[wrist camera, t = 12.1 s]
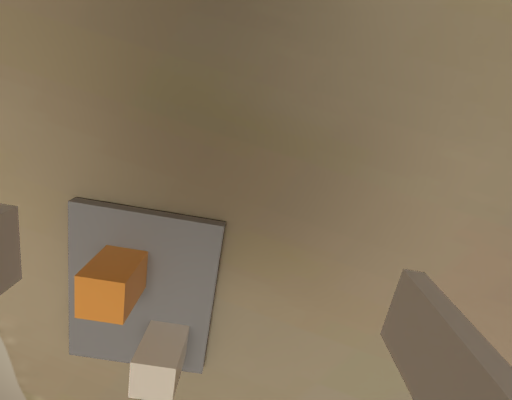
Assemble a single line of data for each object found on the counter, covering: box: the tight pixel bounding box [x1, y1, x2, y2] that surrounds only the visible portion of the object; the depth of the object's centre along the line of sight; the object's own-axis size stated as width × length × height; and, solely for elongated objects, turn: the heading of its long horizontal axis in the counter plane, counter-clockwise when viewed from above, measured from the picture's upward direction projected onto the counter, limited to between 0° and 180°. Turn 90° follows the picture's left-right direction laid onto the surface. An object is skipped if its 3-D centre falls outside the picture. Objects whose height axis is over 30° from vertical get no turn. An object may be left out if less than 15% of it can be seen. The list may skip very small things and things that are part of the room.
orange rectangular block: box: [74, 245, 148, 325], centre depth 36 cm, size 5×5×7 cm
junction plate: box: [68, 197, 225, 400], centre depth 38 cm, size 22×18×8 cm
